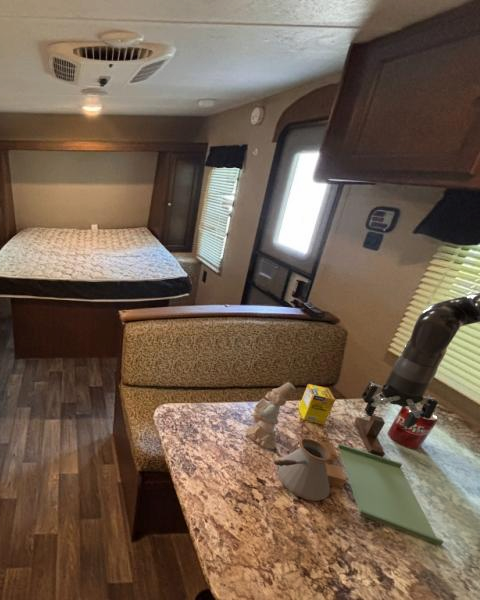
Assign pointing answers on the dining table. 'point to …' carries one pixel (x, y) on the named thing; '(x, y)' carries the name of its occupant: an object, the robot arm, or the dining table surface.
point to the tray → (385, 493)
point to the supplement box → (316, 404)
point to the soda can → (411, 429)
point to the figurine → (268, 416)
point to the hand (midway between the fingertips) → (387, 419)
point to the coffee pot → (306, 470)
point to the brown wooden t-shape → (371, 433)
